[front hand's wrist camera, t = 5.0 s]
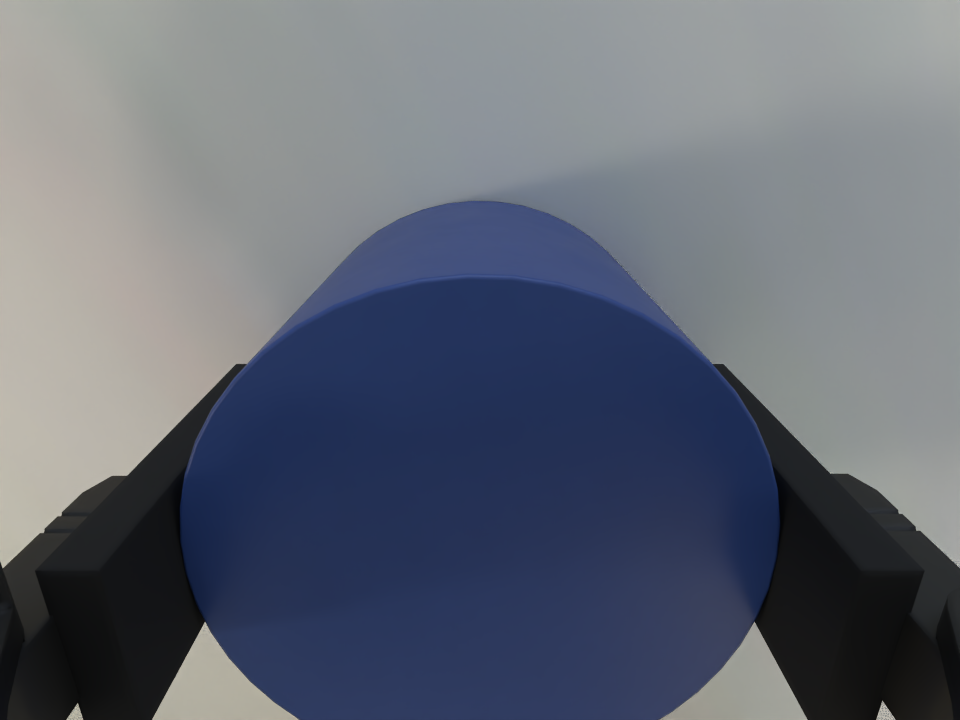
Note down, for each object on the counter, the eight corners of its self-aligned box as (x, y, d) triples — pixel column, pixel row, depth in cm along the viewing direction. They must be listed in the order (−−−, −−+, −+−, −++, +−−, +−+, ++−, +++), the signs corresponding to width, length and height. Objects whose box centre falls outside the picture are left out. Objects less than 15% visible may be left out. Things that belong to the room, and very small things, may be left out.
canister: (515, 573, 18) (535, 835, 12) (243, 414, 16) (81, 620, 10) (727, 340, 16) (912, 507, 9) (432, 118, 14) (386, 121, 7)
